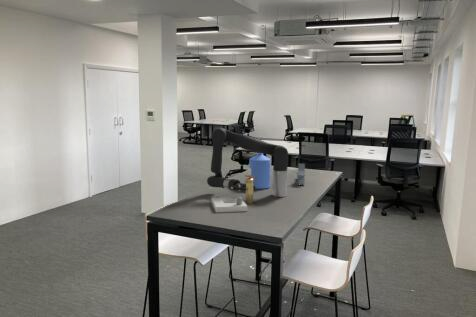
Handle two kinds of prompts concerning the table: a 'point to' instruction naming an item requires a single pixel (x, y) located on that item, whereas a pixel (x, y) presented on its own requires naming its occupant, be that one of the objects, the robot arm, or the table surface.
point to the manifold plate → (229, 204)
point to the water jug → (260, 171)
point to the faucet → (301, 174)
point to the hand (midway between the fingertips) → (250, 188)
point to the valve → (249, 189)
